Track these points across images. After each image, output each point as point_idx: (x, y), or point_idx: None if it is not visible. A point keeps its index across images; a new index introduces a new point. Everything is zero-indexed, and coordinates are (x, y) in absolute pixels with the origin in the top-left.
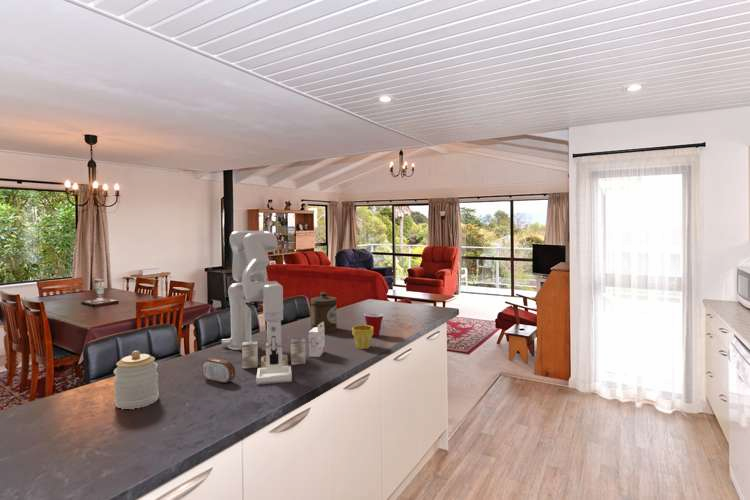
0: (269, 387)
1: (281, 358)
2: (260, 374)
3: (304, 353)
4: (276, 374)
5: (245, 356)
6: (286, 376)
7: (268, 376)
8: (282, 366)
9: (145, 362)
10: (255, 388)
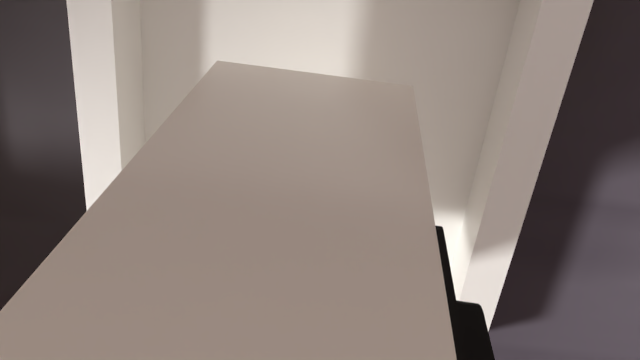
0: (625, 233)
1: (426, 210)
2: None
3: None
4: None
5: None
6: (579, 16)
7: (481, 275)
8: (81, 20)
9: None
10: (565, 357)
